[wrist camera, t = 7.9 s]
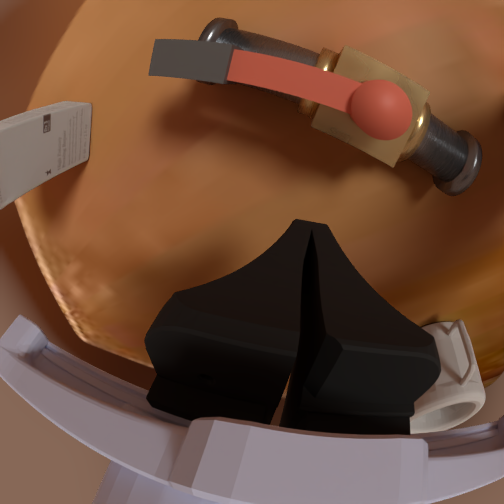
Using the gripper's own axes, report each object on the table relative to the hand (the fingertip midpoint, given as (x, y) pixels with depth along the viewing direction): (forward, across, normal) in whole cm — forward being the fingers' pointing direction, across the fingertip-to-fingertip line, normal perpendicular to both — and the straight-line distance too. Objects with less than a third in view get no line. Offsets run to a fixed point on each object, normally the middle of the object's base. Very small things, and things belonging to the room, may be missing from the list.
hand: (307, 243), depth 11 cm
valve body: (+10, -2, -6) cm, 12 cm away
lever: (+5, +2, -6) cm, 8 cm away
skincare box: (+10, +22, -3) cm, 24 cm away
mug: (+10, -18, +16) cm, 27 cm away
